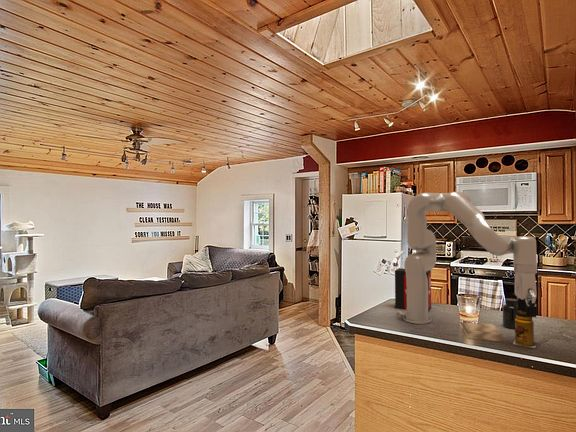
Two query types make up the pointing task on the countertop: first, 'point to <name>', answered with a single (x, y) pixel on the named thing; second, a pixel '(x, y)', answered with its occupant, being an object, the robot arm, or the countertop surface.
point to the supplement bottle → (510, 313)
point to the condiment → (524, 330)
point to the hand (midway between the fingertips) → (526, 313)
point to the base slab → (482, 331)
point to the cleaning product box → (402, 289)
